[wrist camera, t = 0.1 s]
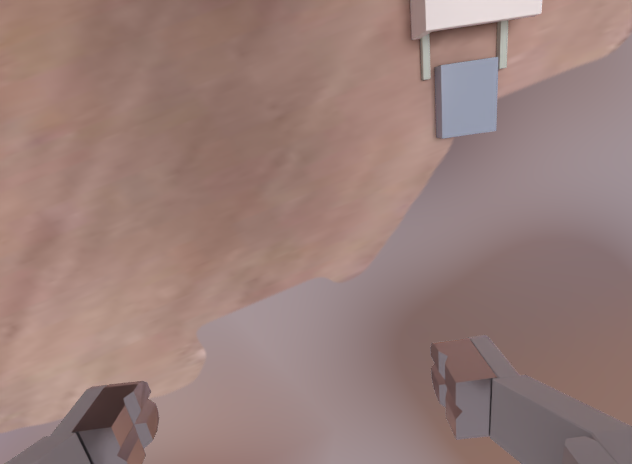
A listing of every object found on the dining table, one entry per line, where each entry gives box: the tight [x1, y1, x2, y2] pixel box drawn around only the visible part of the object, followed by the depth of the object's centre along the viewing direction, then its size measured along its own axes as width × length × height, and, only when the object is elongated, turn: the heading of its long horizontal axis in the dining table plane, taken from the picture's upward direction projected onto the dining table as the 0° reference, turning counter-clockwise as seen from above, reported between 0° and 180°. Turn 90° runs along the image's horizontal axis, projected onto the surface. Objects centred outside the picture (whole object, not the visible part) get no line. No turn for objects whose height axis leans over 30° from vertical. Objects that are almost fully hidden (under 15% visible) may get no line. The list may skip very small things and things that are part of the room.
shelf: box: [410, 0, 542, 80], centre depth 46 cm, size 15×14×6 cm
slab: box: [435, 57, 498, 139], centre depth 52 cm, size 10×8×3 cm
